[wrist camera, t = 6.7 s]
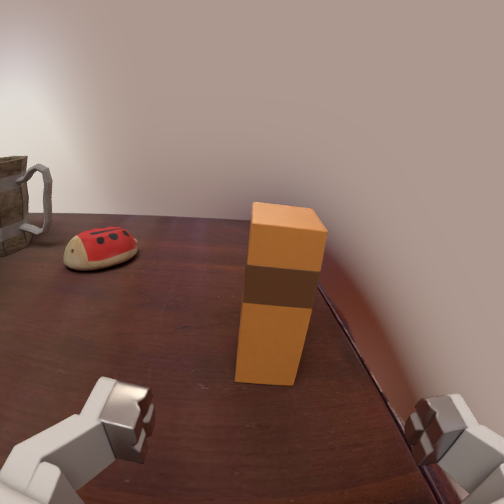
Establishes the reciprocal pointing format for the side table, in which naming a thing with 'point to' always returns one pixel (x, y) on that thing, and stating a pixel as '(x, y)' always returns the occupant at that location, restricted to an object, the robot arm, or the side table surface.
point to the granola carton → (278, 292)
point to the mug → (20, 203)
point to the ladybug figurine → (100, 248)
